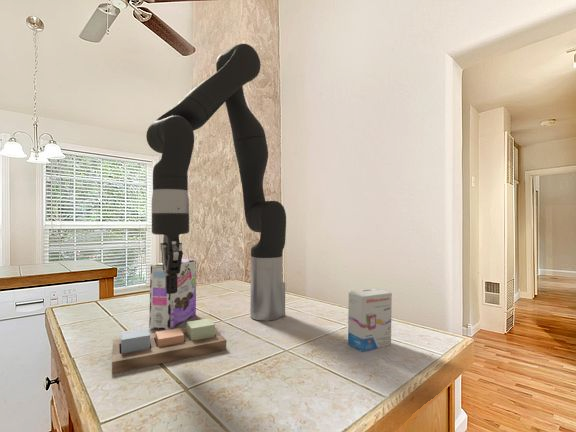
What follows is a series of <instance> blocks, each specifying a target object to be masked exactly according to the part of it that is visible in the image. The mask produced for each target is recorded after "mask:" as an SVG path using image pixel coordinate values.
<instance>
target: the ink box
mask: <svg viewBox="0 0 576 432" xmlns="http://www.w3.org/2000/svg"><path fill="white" fill-rule="evenodd" d="M392 295H393V294H392V292H389V291H386V290H383V289H381V288H377V287H375V288H374V287H373V288H363V289H355V290H354V289H353V290H350V291H349V292H348V314H347V315H348V319H347V320H348V321H347V326H348V327H347V344H348V345H350V346H351V347H354V348H355V349H356V350H358V351H361V352H362V353H363V352H367V351H371V350H376V349H379V348H383V347H388V346H391V345H392V311H393V310H392V306H393V305H392V301H393V298H392V297H393V296H392Z"/></svg>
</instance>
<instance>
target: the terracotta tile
mask: <svg viewBox="0 0 576 432" xmlns="http://www.w3.org/2000/svg"><path fill="white" fill-rule="evenodd" d="M181 329H182V328H180V327H177V328H172V329H169V330H159V331H155V332H154V333H155V343H156V346H157V347H161V346H166V345H171V344H177V343H182V342H184V334H183V332H182V331H181Z"/></svg>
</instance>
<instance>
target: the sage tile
mask: <svg viewBox="0 0 576 432" xmlns="http://www.w3.org/2000/svg"><path fill="white" fill-rule="evenodd" d="M215 326H216V324H215V323H214V322H213V321H212V320H211V319H210V318H203V319H197V320H191V321H186V328H187V337H188V338H189V340H190V341H193V340H199V339H204V338H210V337H215V329H216V327H215Z"/></svg>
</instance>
